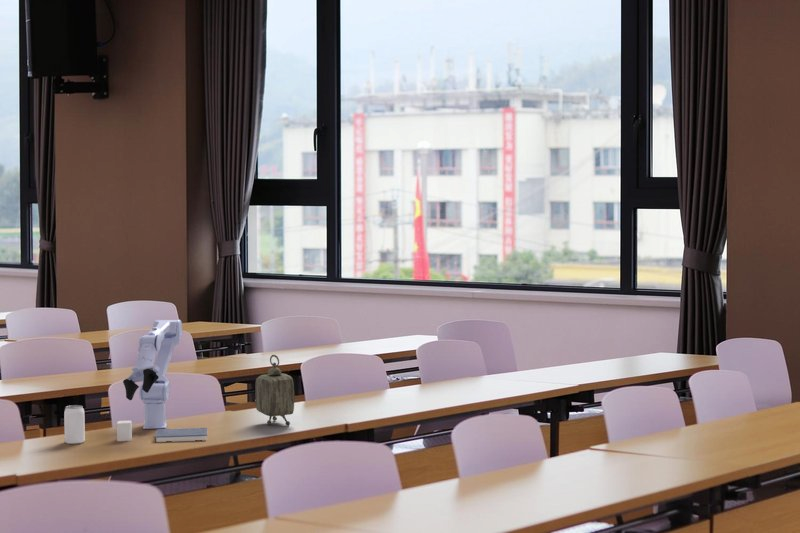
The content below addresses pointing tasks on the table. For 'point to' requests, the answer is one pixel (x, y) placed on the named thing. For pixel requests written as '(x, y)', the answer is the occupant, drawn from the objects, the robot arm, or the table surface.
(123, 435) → the block
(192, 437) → the notebook
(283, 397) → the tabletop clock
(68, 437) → the can
